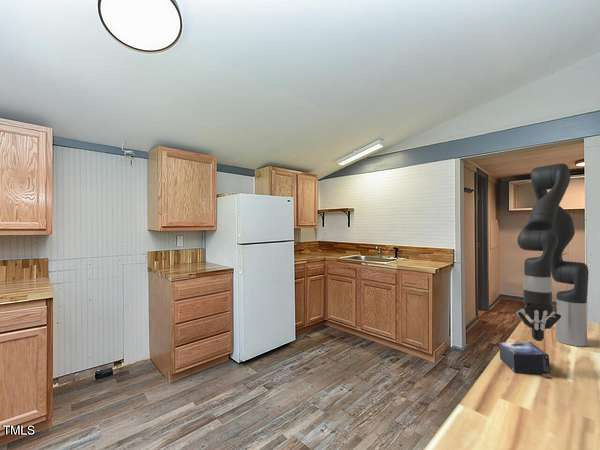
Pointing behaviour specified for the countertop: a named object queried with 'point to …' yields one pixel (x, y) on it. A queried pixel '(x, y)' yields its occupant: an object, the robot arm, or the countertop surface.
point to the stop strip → (546, 375)
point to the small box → (524, 357)
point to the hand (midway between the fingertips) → (537, 340)
